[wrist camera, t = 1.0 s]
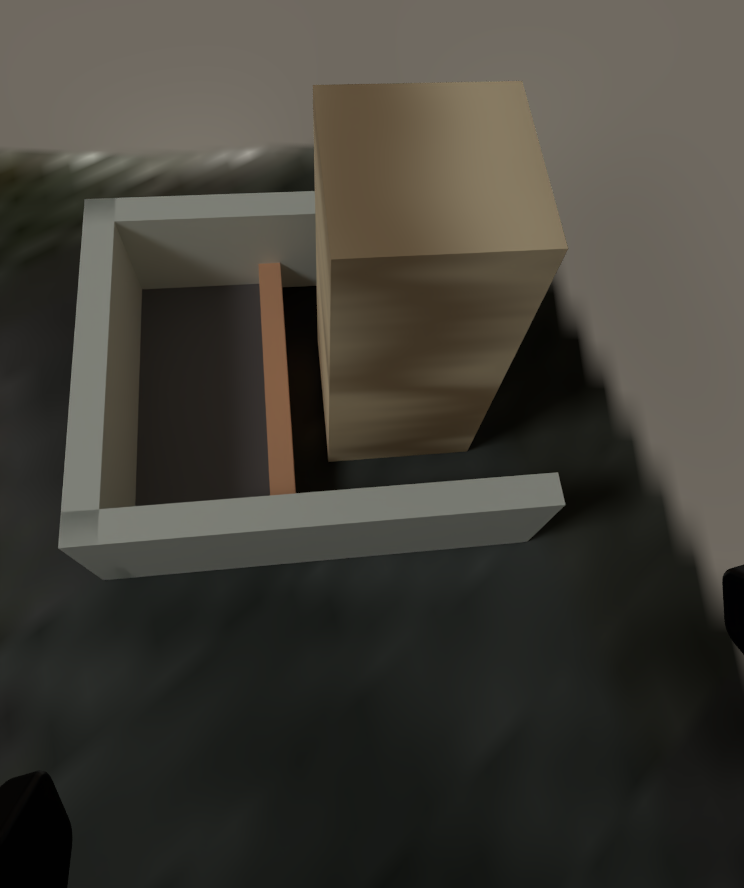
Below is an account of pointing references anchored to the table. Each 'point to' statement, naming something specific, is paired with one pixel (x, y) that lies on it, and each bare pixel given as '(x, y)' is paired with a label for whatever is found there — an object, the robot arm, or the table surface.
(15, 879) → the robot arm
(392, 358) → the maple block
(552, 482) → the trap trough
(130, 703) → the table surface
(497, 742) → the table surface
